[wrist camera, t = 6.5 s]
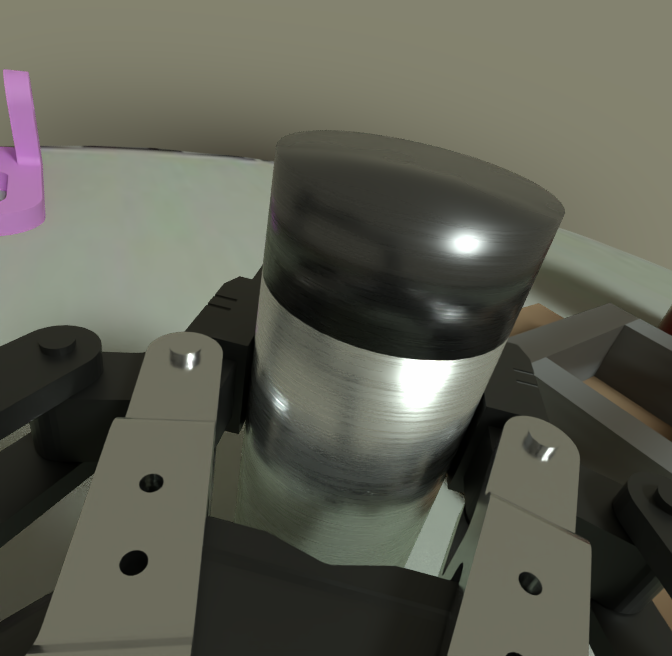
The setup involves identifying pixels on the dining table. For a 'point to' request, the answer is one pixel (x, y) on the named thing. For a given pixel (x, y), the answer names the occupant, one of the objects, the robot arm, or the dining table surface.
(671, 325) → the soda can
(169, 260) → the dining table surface
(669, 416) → the docking mount
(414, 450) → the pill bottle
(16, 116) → the bracket
